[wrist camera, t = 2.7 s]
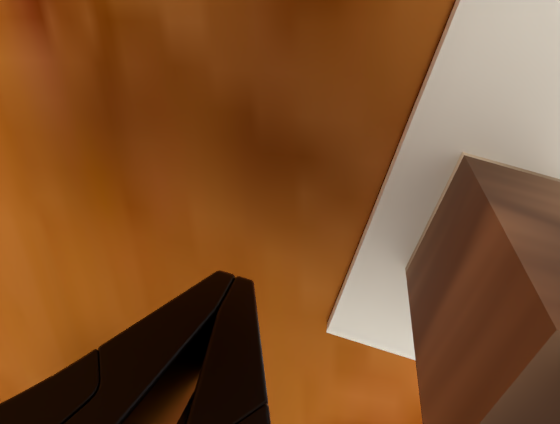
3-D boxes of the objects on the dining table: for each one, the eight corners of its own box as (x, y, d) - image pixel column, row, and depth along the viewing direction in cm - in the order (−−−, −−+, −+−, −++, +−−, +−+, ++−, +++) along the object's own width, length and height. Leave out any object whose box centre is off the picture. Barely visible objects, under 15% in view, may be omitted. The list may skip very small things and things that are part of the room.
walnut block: (405, 268, 16) (429, 483, 9) (462, 151, 13) (557, 329, 6) (486, 292, 16) (573, 531, 9) (560, 179, 13) (763, 392, 6)
